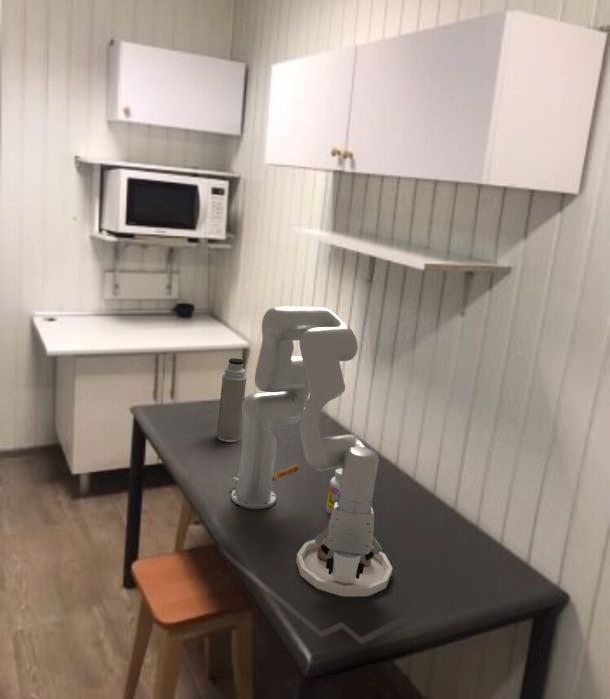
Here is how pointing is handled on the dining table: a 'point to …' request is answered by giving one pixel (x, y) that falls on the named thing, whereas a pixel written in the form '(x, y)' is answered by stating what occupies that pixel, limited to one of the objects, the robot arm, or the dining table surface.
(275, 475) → the chocolate bar
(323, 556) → the bead
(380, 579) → the tray
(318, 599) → the dining table surface
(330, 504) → the supplement bottle
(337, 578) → the white rimmed cylinder
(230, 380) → the thermos bottle
